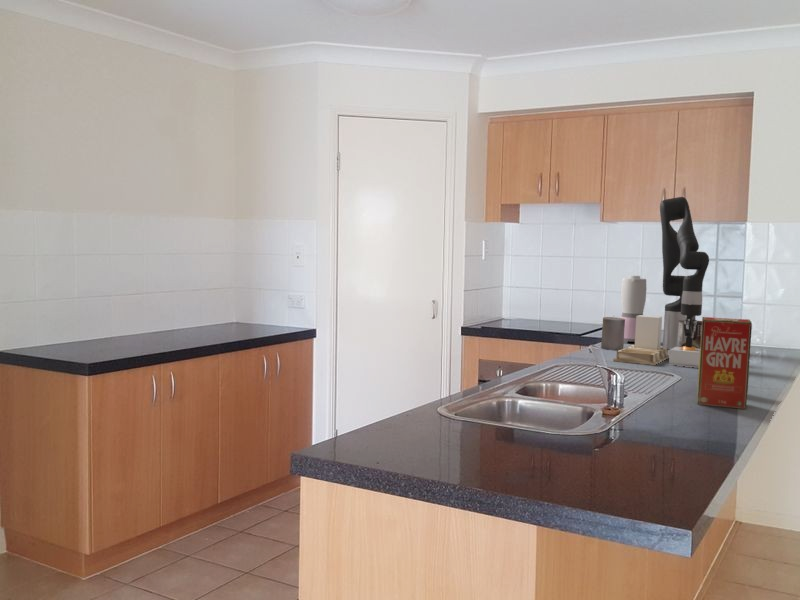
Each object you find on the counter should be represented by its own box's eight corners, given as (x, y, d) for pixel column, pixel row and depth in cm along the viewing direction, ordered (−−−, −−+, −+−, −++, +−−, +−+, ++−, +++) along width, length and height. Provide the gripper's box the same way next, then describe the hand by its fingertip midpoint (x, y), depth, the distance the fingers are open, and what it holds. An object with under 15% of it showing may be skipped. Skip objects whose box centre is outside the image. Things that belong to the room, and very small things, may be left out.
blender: (646, 344, 354) (649, 276, 351) (619, 343, 356) (622, 275, 353) (641, 340, 369) (645, 275, 367) (615, 339, 371) (619, 274, 369)
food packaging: (696, 404, 218) (701, 318, 216) (696, 399, 226) (701, 316, 225) (747, 409, 213) (753, 321, 211) (744, 403, 222) (750, 319, 220)
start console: (675, 361, 303) (676, 346, 302) (707, 364, 297) (708, 349, 296) (668, 365, 293) (669, 349, 292) (701, 368, 286) (702, 352, 286)
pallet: (631, 353, 321) (631, 344, 321) (670, 357, 313) (670, 348, 313) (613, 361, 298) (613, 351, 298) (654, 365, 290) (655, 355, 290)
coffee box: (698, 359, 310) (701, 320, 309) (703, 362, 304) (706, 322, 303) (676, 358, 311) (678, 319, 310) (680, 360, 305) (682, 321, 304)
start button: (683, 358, 298) (683, 345, 297) (696, 359, 295) (696, 347, 295) (680, 359, 294) (681, 347, 293) (693, 361, 291) (694, 348, 291)
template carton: (637, 353, 317) (639, 315, 316) (659, 355, 312) (662, 316, 311) (634, 354, 312) (636, 316, 311) (656, 356, 307) (658, 317, 306)
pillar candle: (596, 347, 339) (598, 314, 338) (615, 346, 342) (617, 314, 341) (609, 350, 330) (611, 316, 329) (628, 350, 333) (630, 316, 332)
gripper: (685, 301, 300) (682, 344, 302) (678, 303, 289) (675, 347, 290) (705, 302, 297) (702, 346, 298) (698, 304, 285) (695, 349, 287)
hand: (689, 347), depth 294 cm, fingers closed
